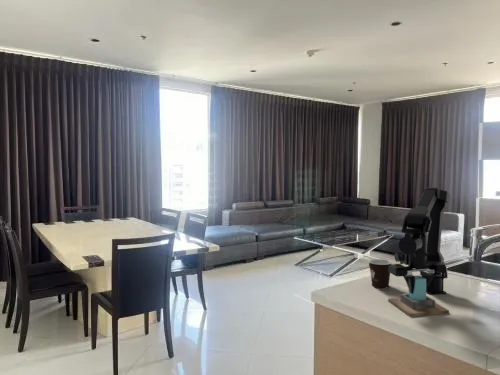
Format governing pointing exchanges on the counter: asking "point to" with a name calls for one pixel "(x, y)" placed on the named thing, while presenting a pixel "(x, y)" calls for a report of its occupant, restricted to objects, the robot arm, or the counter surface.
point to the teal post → (419, 289)
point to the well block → (417, 306)
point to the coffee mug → (379, 273)
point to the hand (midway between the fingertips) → (417, 292)
